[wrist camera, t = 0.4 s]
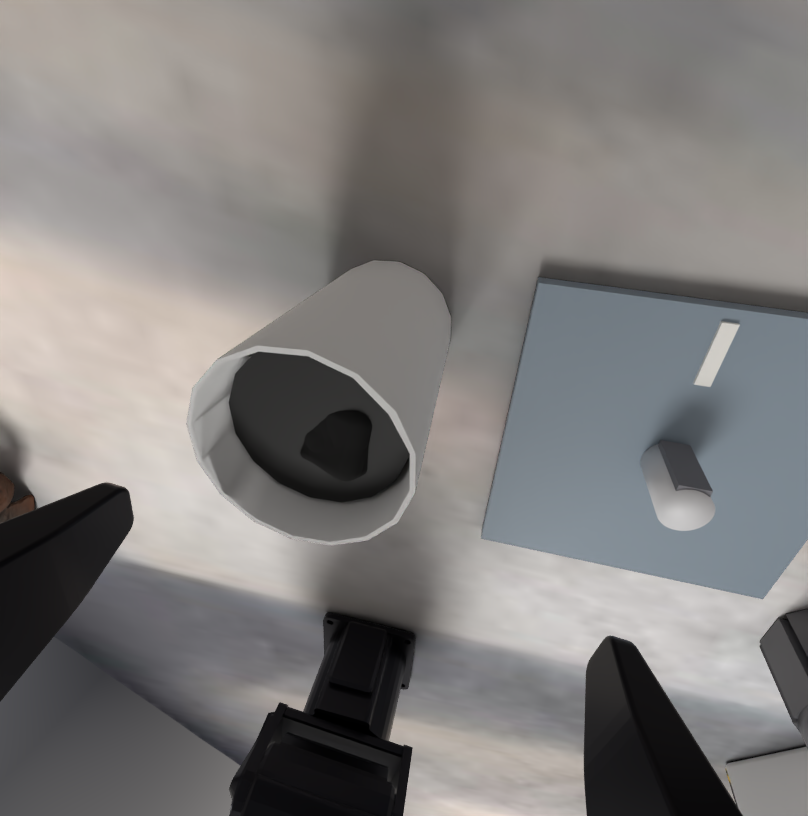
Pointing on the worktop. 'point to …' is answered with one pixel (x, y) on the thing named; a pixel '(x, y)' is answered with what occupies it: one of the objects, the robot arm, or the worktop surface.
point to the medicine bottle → (771, 784)
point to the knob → (790, 665)
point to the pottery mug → (3, 510)
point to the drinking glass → (328, 407)
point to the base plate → (657, 436)
